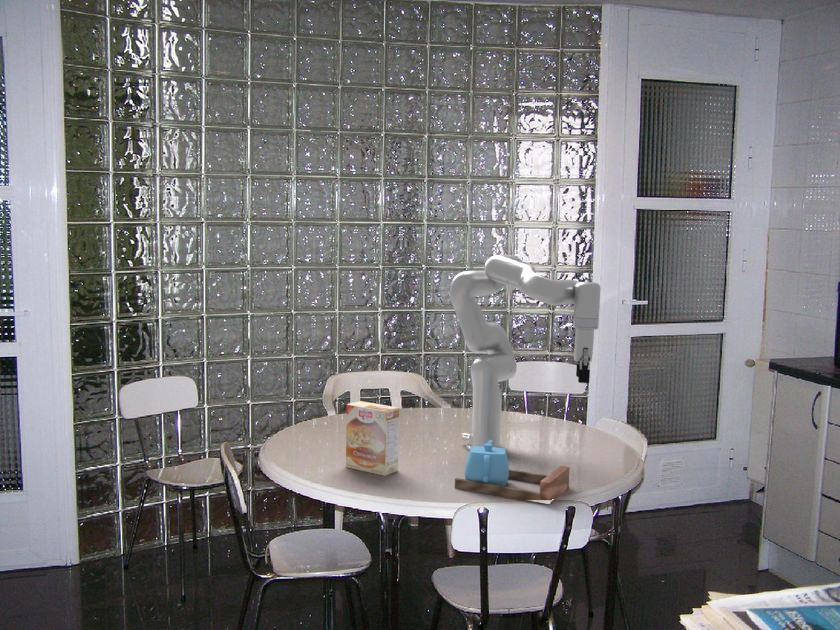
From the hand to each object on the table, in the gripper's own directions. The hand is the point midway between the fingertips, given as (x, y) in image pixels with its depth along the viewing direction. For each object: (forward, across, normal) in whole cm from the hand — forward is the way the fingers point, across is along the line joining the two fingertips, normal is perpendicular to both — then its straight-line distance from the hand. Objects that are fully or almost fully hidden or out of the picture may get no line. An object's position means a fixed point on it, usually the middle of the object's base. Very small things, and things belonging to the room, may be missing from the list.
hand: (582, 379), depth 238 cm
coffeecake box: (+29, +12, -62) cm, 69 cm away
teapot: (+28, +18, -27) cm, 43 cm away
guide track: (+28, +21, -20) cm, 40 cm away
